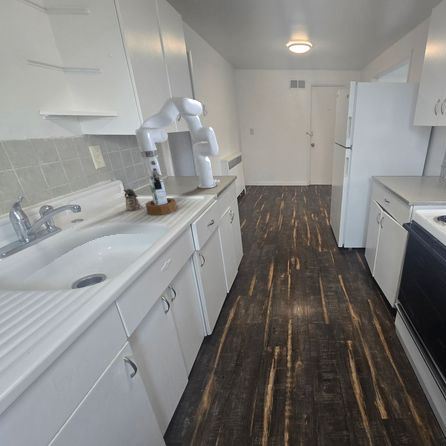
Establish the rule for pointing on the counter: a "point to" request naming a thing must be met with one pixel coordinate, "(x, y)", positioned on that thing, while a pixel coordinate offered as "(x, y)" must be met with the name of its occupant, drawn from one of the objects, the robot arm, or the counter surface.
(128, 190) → the figurine
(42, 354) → the counter surface
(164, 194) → the syrup box
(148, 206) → the brown bowl
